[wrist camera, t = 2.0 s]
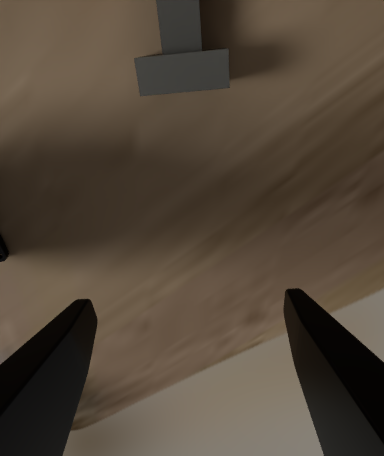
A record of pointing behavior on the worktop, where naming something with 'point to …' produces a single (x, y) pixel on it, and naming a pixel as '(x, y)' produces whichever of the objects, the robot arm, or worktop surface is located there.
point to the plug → (181, 54)
